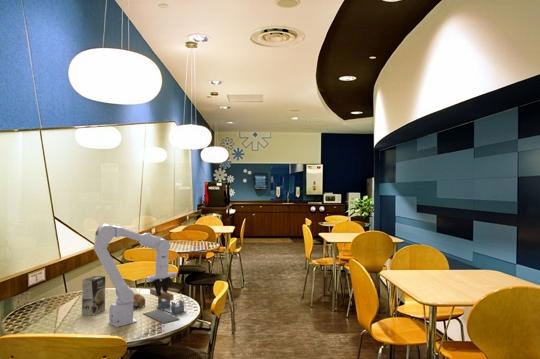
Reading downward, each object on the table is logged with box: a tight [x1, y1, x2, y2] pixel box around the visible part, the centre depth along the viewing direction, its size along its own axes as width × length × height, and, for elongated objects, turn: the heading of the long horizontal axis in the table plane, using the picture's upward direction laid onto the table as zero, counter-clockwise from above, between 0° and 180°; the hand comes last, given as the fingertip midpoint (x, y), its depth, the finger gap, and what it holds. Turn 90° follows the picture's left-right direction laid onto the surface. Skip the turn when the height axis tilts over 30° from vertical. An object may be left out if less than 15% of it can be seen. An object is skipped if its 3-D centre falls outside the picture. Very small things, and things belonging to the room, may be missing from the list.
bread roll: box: [133, 293, 146, 310], centre depth 199 cm, size 10×10×8 cm
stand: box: [155, 297, 187, 317], centre depth 193 cm, size 6×17×6 cm, turn 46°
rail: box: [149, 287, 174, 302], centre depth 184 cm, size 2×16×2 cm, turn 46°
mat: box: [142, 309, 181, 325], centre depth 183 cm, size 8×18×1 cm, turn 46°
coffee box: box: [81, 275, 106, 316], centre depth 189 cm, size 9×6×16 cm
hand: (161, 294), depth 184 cm, fingers closed on rail, 2 cm apart
